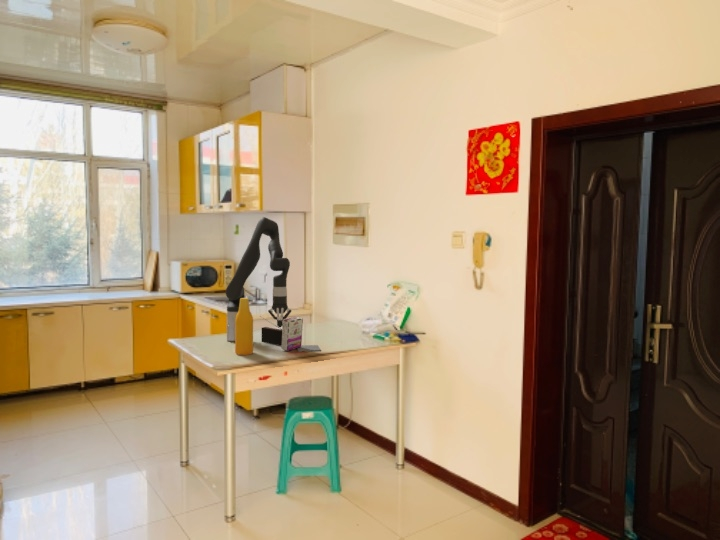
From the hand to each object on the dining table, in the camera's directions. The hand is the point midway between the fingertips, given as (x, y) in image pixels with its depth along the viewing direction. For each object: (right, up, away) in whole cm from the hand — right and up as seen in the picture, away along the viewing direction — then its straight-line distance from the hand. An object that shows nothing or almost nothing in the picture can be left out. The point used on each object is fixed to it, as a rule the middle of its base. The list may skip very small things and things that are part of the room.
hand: (279, 327), depth 282 cm
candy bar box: (+6, -12, +4) cm, 14 cm away
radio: (-7, -12, +18) cm, 23 cm away
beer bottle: (-18, -13, -7) cm, 23 cm away
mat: (+15, -13, +6) cm, 20 cm away
